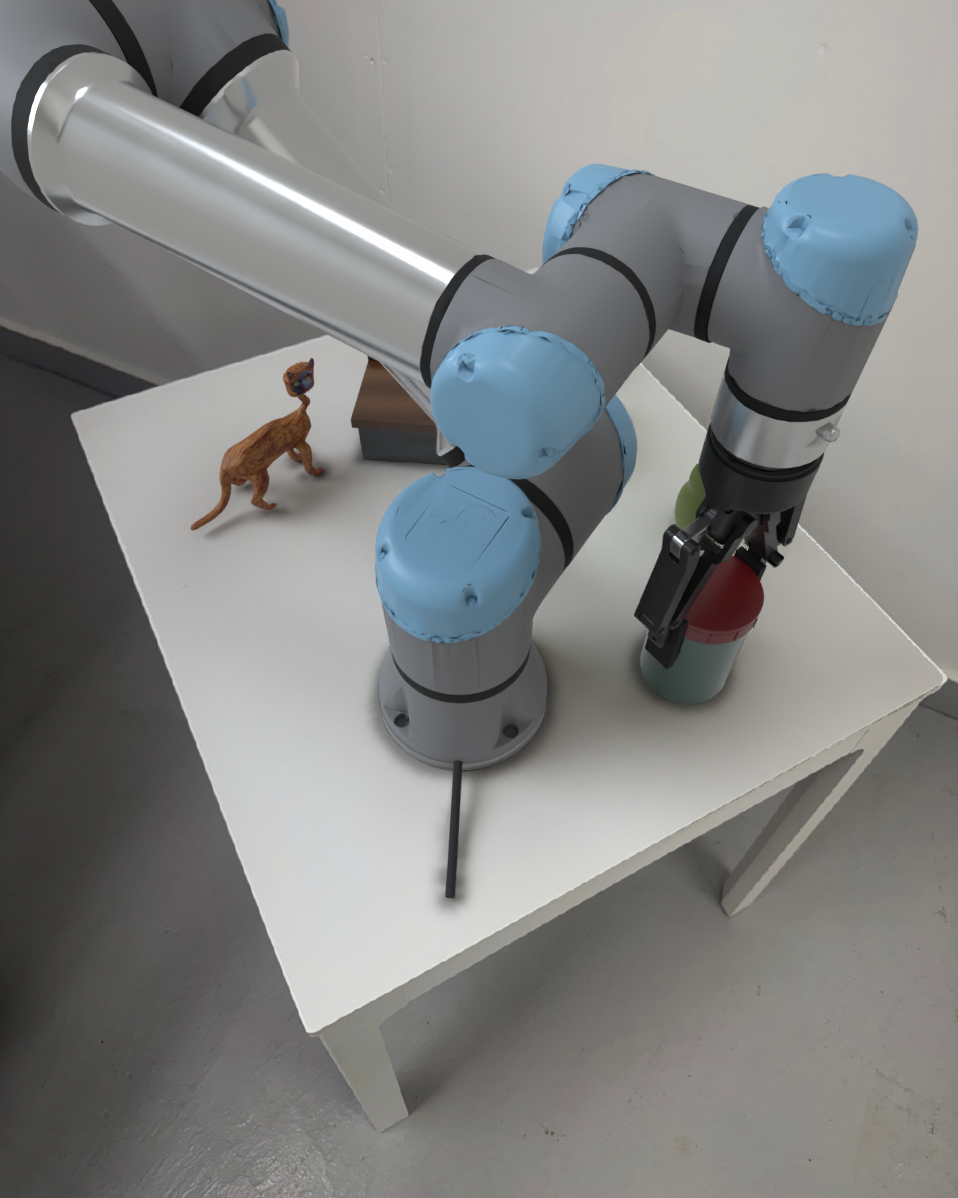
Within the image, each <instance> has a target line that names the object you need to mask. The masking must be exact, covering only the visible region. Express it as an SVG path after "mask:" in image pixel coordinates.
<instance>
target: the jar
mask: <svg viewBox="0 0 958 1198" xmlns="http://www.w3.org/2000/svg"><path fill="white" fill-rule="evenodd" d="M648 632H649V630H648V629H647V631H646V635H645V640H644V642H643V646H642V649H641V653H640V656H639V668H640V671H641V672H640V673H641V675H642V678H643V679H644V681H645V682H646V684H647V686H649V688H650V689H651V690H653V692H654V693H656V694H657V695H658V696H660V697H662V698H663V699H666V700H668V701H671V702H673V703H676V704H682V705H696V704H701V703H704V702H707V701H709V700H711V699H713V698H714V697H716V696H717V695H718V694H719V693H720V692H721V690H722V689H724V686H725V684H726V682H727V679H728V677H729V676H730V673H731V671H732V669H733V667H734V665H735V662H736V660H737V657H738V655H739V653H740V651H741V649H742V647H743V645H744V642H745V640H746V638H747V636H748V634H749V632H748V633H747V634H746V635H745V636H743V637H741V638H740V639H738V640H736V641H735V642H734V641H733V642H729V643H725V644H709V645H708V644H705V643H699V642H696V641H693V640H690V639H687V638H685V637H684V636H683V639H682V642H681V645H680V648H679V650H678V653H677V656H676V659H675V662H674V665H673V666H672V667H670V668H669V669H666V668H665V667H664V666H663V665H662V664H661V663H659V662H658V661H657V660H656V659H655V658H654V657H653V656H652V655H651V654H650V653H649V652H648V651H647V650H646V649H645V645H646V642H647V638H648V636H647V635H648Z"/></svg>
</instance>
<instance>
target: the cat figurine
mask: <svg viewBox="0 0 958 1198" xmlns="http://www.w3.org/2000/svg"><path fill="white" fill-rule="evenodd" d="M314 369H315V359H314V358H313V357H310V358H309V359H308V361H299V362H296V363H294V364H293V365H290V366H289V367H287V368H286V371H285V372H284V373H283V375H282V381H283V384H284V386H285V390H286V392H287V394H288V396H290V397H291V398H297V399H298V400H299V401H300V402H301V404H300V406H299V407H298V408H296V410H293V411H292V412H290V413H288V414H286V415H285V416H283V417H279V418H276V419H273V420H270V421H268V422H267V423H264V424H263V425H262V426H260V427H259V428H258V429H256V430H255V431H253V432H252V433H250V434H249V435H248V436H246V437H245V438H244V439H242V440H240V441H238V442H236V443H235V444H233V445H232V446H230V447H229V448H228V449H227V450H226V451H225V452H224V454H223V456H222V460H221V464H220V468H219V479H218V480H219V483H220V488H221V496H220V499H219V501H218V503H217V504H216V505H215V506H214V507H213V509H212V510H210V511H209V512H208V513H206V514H205V515H204V516H202V517H201V518H199V519H197V520H196V521H195V522H193V523H192V524H191V525H190V528H189V529H190V531H196V530H198V529H201V528H202V527H204V526H205V525H207V524H209V523H210V522H212V521H214V520H215V519H216V518H217V517H218V516H219V515H221V514H222V513H223V512H224V510H226V508H227V506H228V504H229V502H230V500H231V495H232V485H234V486H237V487H242V486H243V485H244V484H245V483H247V481H248V482H250V483H251V484H252V486H253V488H254V491H253V495H252V498H251V500H250V504H251V505H252V506H254V507H256V508H258V509H262V510H264V511H271V510H273V509H274V508H276V507H277V505H278V503H276V502H272V503H269V502H267V501H266V500H264V497H265V496H266V493H267V492H268V490H269V485H270V480H271V479H270V478H271V477H270V475H269V472H268V469H269V467H271V465H272V464H273V463H274V462H275V461H276V460H278V459H279V458H280V457H281V456H283V455H284V454H286V453H287V456H288V458H289V459H290V460H292V461H293V462H302V465H303V468H304V471H306V473H307V474H308V475H310V476H318V475H321V474H323V473H324V472H325V468H323V467H322V466H319V467H314V465H313V452H312V448H311V445H310V444H309V442H308V441H306V440H307V437H308V435H309V434H310V431H311V428H312V422H311V418H310V416H309V415H308V412H307V409H308V407H309V406H310V404H311V399H310V397H309V396H307V392H310V390H312V389H313V388H314V386H315V370H314ZM295 449H297V451H298V452H296V450H295Z"/></svg>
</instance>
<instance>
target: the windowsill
mask: <svg viewBox="0 0 958 1198" xmlns="http://www.w3.org/2000/svg"><path fill="white" fill-rule="evenodd" d="M366 356H367V355H366ZM362 376H363V377H362V380H361V383H360V387H359V389H358V393H357V396H356V399H355V400H356V401H355V404H354V407H353V411H352V414H351V416H350V417H351V418H350V424H351V428H352V429H357V430H358V431H357V432H358V436H359V442H360V443H359V444H360V449H361V454H362V459H363V460H374V461H375V460H377V461H389V462H390V461H391V462H403V463H418V464H421V463H422V464H431V465H432V464H433V465H446V466H448V465H447V464H446V463H445V462H444V461H443V460H442V459H441V458H440V457H439V455H438V454H437V453H436V440H437V430H436V426H435V423H434V422H433V421H432V420H431V419H430V418H429V416H428V415H427V414H426V413H425V412H424V411H423V410H422V409H421V408H420V406H419V405H418V404H417V403H416V402H415V401H414V400H413V399H412V397H411V396H410V395H409V394H408V393H407V392H406V391H405V390H404V389H403V387H402V386H401V385H400V384H399V383H398V382H397V381H396V380H395V379H394V377H393V376H392V375H391V374H390V373H389V372H388V371H387V370H386V368H385V367H384V366H383V365H382V364H381V363H380V362H379V361H377V360H375V359H373V358H371V357H369V356H367V364H366V367H365V370H364V373H363V375H362Z"/></svg>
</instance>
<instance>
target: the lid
mask: <svg viewBox="0 0 958 1198" xmlns="http://www.w3.org/2000/svg"><path fill="white" fill-rule="evenodd" d="M764 603H765V592H764V587H763V584H762V581H760V580H759V578H758V576H757V575H756V573H755V572H754V571H753V570H752V569H751V568H750V567H749V566H748V565H747V564H746V563H744V562H743V561H742V560H740V559H738V558H737V557H735V556H734V555H732V557H731V558H730V560H729V561H727V562H724V563H720V564H719V565H718V566H717V568H716V569H715V571H714V572H713V574H712V575H711V577H710V579H709V580H708V582H707V583H706V585H705V586H704V588H703V589H702V591H701V592H700V594H699V596H698V597H697V599H696V600H695V602H694V603H693V605H692V606H691V608H690V609H689V611H688V613H687V614H686V616H685V617H684V618H685V619H686V620H687V621H688V624H687V627H686V630H685V633H684V637H685V638H687V639H690V640H693V641H696V642H699V643H705V644H708V645H709V644H725V643H729V642H733V641H734V642H735V641H736V640H738V639H740V638H741V637H743V636H745V635H746V634H747V633H748V634H749V632H750V631H752V629H754V628H755V626H756V625H757V622H758V620H759V617H760V614H761V612H762V610H763V606H764ZM748 634H747V635H748Z"/></svg>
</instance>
